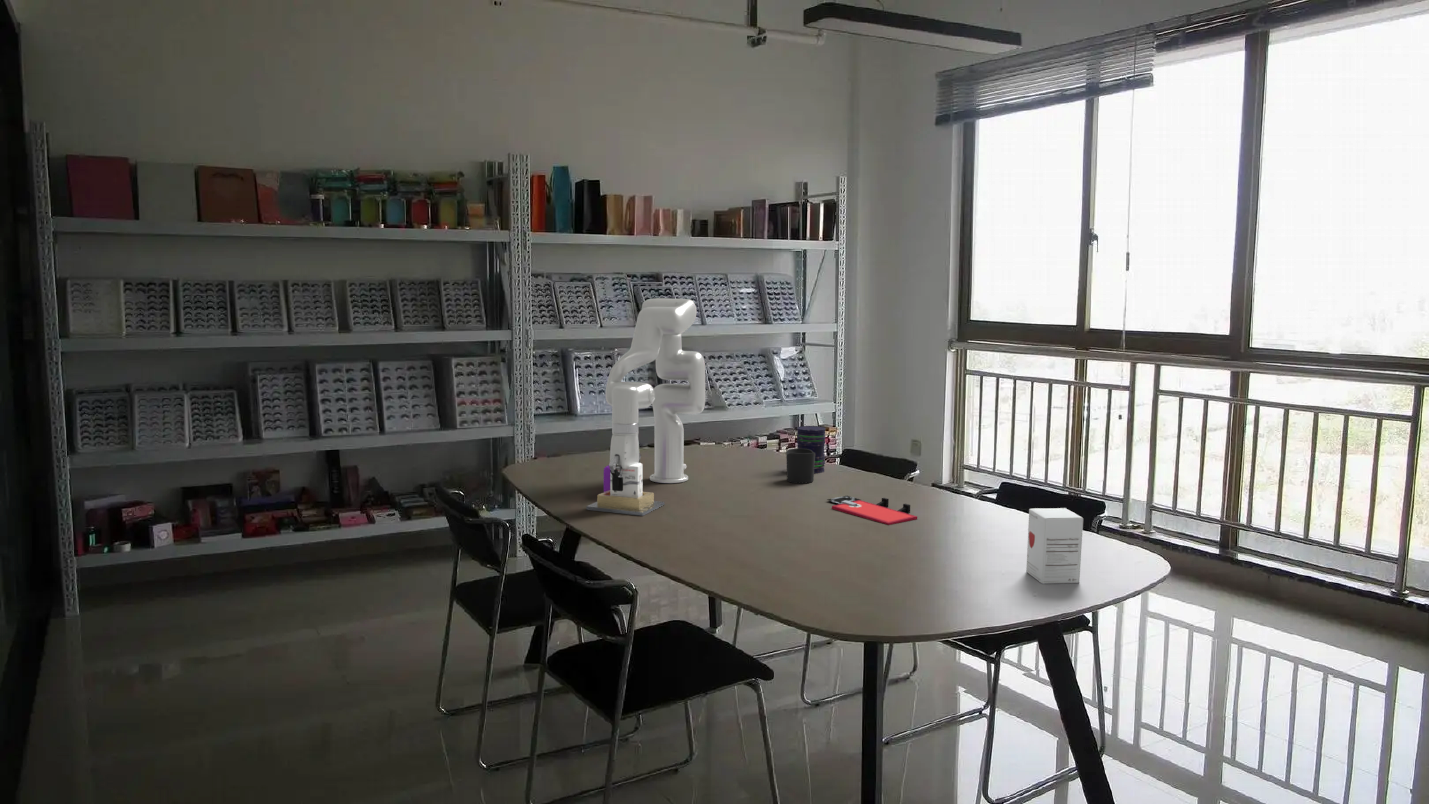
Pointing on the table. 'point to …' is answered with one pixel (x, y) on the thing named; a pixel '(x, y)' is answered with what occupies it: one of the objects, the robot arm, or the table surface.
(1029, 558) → the supplement box
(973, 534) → the table surface
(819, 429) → the storage jar
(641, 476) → the ink box
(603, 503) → the mount collar
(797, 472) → the pen holder
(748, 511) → the table surface
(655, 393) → the robot arm
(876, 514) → the red board with handle
